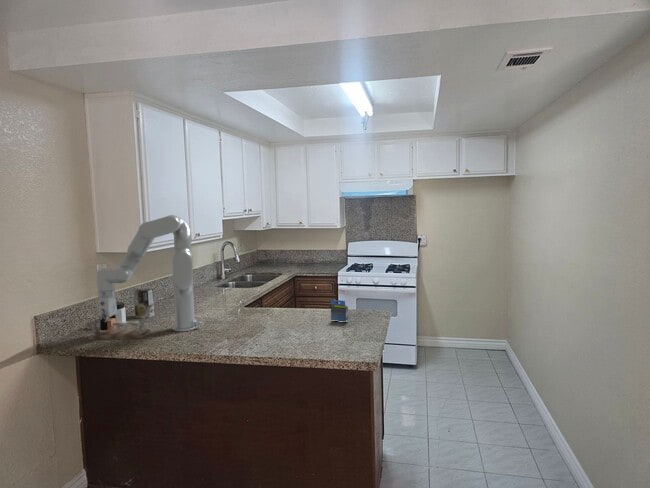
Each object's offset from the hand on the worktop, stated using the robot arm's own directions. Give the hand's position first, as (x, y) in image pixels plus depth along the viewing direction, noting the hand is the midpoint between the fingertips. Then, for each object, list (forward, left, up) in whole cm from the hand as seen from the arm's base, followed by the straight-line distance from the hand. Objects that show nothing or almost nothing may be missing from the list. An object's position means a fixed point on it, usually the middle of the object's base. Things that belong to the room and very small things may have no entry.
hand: (108, 327), depth 210 cm
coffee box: (-4, -38, -5) cm, 39 cm away
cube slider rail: (-5, 0, -5) cm, 7 cm away
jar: (+5, -21, -5) cm, 22 cm away
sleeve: (0, 0, -1) cm, 1 cm away
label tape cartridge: (-117, -11, -5) cm, 118 cm away
